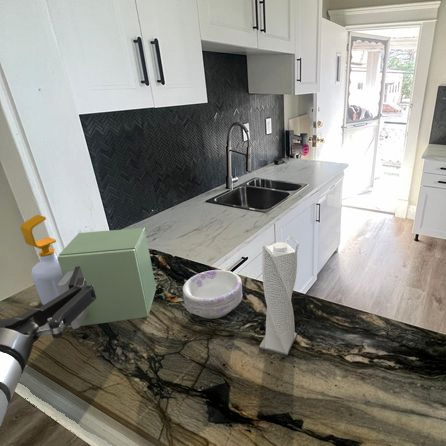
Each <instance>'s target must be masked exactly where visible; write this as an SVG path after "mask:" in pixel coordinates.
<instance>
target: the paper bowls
mask: <svg viewBox="0 0 446 446" xmlns="http://www.w3.org/2000/svg"><path fill="white" fill-rule="evenodd" d="M182 295H183V296H182V297H183V303H184V307H185V309H186V311H188V312H189V313H191V314H192V315H196V316H199V317H201V318H204V319H210V320H211V319H212V320H213V319H219V318H222V317H224V316H226V315H228V314H230V312H231V311H232V310H234V309H235V308H237V307H238V306H239V305H240V303H241V302H242V301H243V283H242V279H241V277H240V276H239V274H237V273H235V272H233V271H230V270H226V269H212V270H207V271H206V270H205V271H203V272H200V273H197V274H194V275H193V276H191V277H190V278H189V279H188V280H186V282H185V283H184V284H183V286H182Z"/></svg>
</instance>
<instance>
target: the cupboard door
mask: <svg viewBox="0 0 446 446" xmlns="http://www.w3.org/2000/svg"><path fill="white" fill-rule="evenodd" d="M57 259H58V262H59V265H60V268H61V271H62V274H63V278H62V279H61V281H60V282H59V283H58V287H59V290H60V293H61V294H63V293H64V292H66V291H67V290H69V286H68V285H69V283H70V280H71V277H72V275H73V272H74V269H75V267H77V266H80V267H81V270H82V274H83V277H84V278H85V280H86V283H87V285H93V287H94V290H95V294H96V299H95V300H94V301H93V302H92V303H91V304H90V305H89V306H88V307H87V308H86V309H85V310H84V311H83V312H82V313H81V314H80V315H79V316H78V317H77V318H76V319H75V320H74V321H72V322H71V323H70V326H71V328H72V329H73V330H76V329H79V328H80V327H83V326H85V327H86V326H91V325H98V324H99V325H101V324H107V323H113V322H122V321H129V320H136V319H143V318H148V317H149V315H150V313H149V314H148V309H147V304H146V299H145V295H144V290H143V285H142V280H141V276H140V271H139V266H138V261H137V257H136V252H135V249H128V250H116V251H105V252H94V253H82V254H71V255H59V254H58V256H57Z"/></svg>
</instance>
